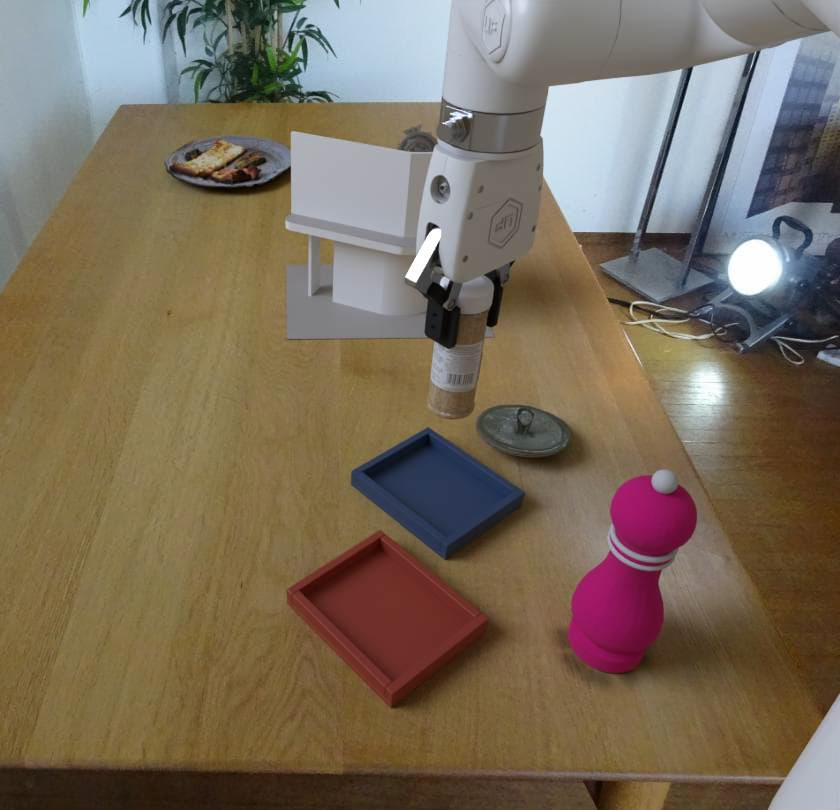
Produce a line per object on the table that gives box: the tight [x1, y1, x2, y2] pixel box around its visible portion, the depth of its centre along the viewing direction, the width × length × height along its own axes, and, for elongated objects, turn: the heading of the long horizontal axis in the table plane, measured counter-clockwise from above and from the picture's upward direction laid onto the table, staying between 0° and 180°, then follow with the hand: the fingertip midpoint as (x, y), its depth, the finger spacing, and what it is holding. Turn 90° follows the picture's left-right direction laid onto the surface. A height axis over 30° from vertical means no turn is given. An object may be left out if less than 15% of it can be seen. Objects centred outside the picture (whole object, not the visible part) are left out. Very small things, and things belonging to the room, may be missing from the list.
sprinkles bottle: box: [426, 275, 494, 421], centre depth 72 cm, size 5×5×13 cm
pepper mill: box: [567, 468, 698, 674], centre depth 64 cm, size 7×7×20 cm
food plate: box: [164, 134, 291, 190], centre depth 154 cm, size 25×23×4 cm
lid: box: [475, 404, 573, 458], centre depth 90 cm, size 11×10×5 cm
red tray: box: [286, 529, 489, 709], centre depth 72 cm, size 14×12×2 cm
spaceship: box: [397, 123, 438, 152], centre depth 152 cm, size 8×35×8 cm
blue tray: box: [350, 426, 526, 560], centre depth 84 cm, size 14×12×2 cm
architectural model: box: [284, 130, 495, 340], centre depth 110 cm, size 28×21×23 cm
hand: (460, 329), depth 71 cm, fingers closed on sprinkles bottle, 4 cm apart
